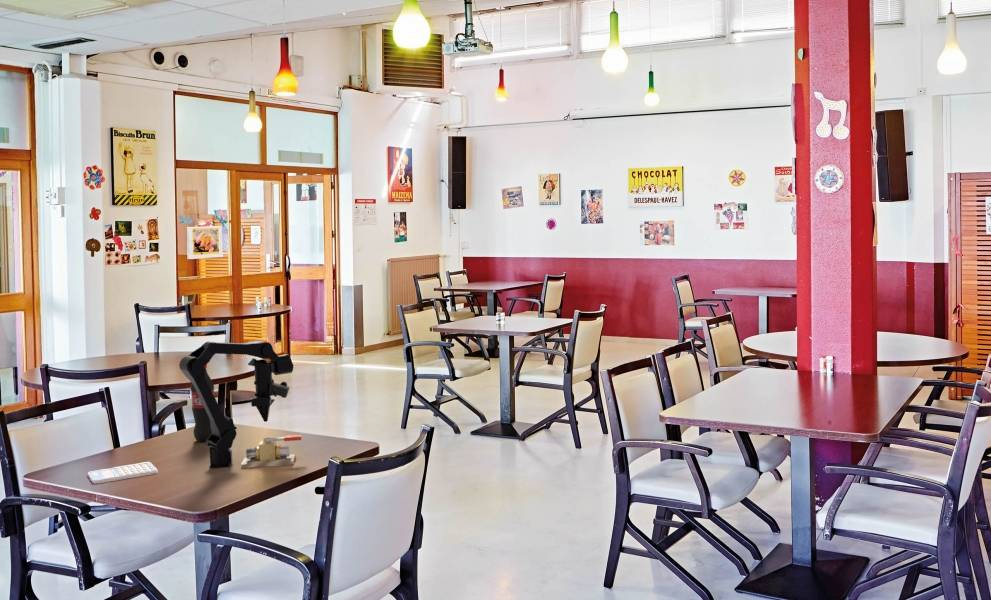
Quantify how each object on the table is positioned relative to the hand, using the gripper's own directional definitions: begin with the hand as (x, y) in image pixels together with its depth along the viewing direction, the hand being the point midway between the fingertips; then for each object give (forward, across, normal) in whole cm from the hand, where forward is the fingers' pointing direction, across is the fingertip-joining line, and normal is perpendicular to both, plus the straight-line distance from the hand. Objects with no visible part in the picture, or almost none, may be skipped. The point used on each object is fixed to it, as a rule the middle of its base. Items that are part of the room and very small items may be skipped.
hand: (265, 421), depth 319 cm
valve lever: (+5, -10, -7) cm, 13 cm away
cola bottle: (+12, +28, +27) cm, 41 cm away
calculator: (+13, -14, +45) cm, 49 cm away
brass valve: (+11, -10, -2) cm, 15 cm away
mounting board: (+12, -10, -2) cm, 16 cm away
